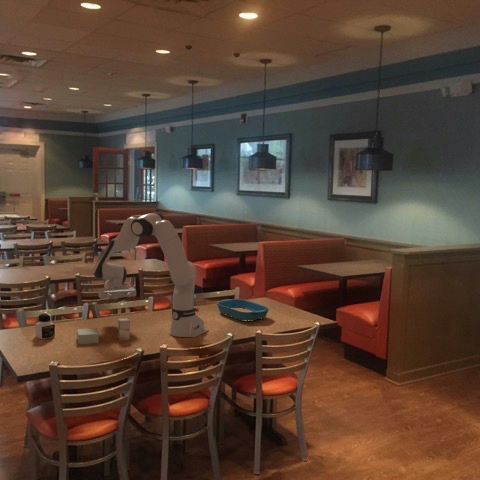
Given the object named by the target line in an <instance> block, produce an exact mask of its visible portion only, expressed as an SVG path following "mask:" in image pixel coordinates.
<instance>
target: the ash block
mask: <svg viewBox="0 0 480 480" xmlns="http://www.w3.org/2000/svg"><path fill="white" fill-rule="evenodd" d="M117 321H118V323H117V338H118V339H119V341H127V340H129V339H130V337H131V335H130V333H131V332H130V331H131V330H130V329H131V328H130V326H131V321H130V319H129V318H128V317H127V318H118V319H117Z"/></svg>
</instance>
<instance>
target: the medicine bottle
mask: <svg viewBox="0 0 480 480" xmlns="http://www.w3.org/2000/svg"><path fill="white" fill-rule="evenodd" d="M55 326H56V325H55V323H54V322H52V315H51V314H50V313H40V314H38V322H36V323H35V333H34V334H35V337H36V338H38V339H40V340H46V339H47V338H48V339H53V338H55V336H56V333H55V330H56V329H55V328H56V327H55Z"/></svg>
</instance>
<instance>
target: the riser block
mask: <svg viewBox="0 0 480 480" xmlns="http://www.w3.org/2000/svg"><path fill="white" fill-rule="evenodd" d="M76 335H77V337H76V338H77V344H78V345H86V344H87V345H88V344H99V342H100V333H99V330H98V328H97V327H96V328H78V329H77V331H76Z"/></svg>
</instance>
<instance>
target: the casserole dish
mask: <svg viewBox="0 0 480 480" xmlns="http://www.w3.org/2000/svg"><path fill="white" fill-rule="evenodd" d="M216 305H217V307H218V311H219V312H220V314H222V313H223V314H222V315H224V314H226V315H225V316H227V315H229V316H232V317H234V318H233V319H235V318H237V319H236V320H238V319H240V320H247V321H248V320H256V319H261V318H263V319H265V318H266V317H267V314H268V313H269V310H270V309H269V307H268V306H266V305H263V304H261V303H258V302H254V301H250V300H247V299H243V298H232V299H231V298H230V299H229V298H228V299H222V300H220V301H217V302H216ZM231 308H243V309H247V310H250V311H252V312H241V311H237V310H234V309H231ZM229 316H228V317H229ZM232 317H231V318H232ZM240 320H239V321H240ZM261 320H262V319H261ZM256 321H257V320H256Z"/></svg>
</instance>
